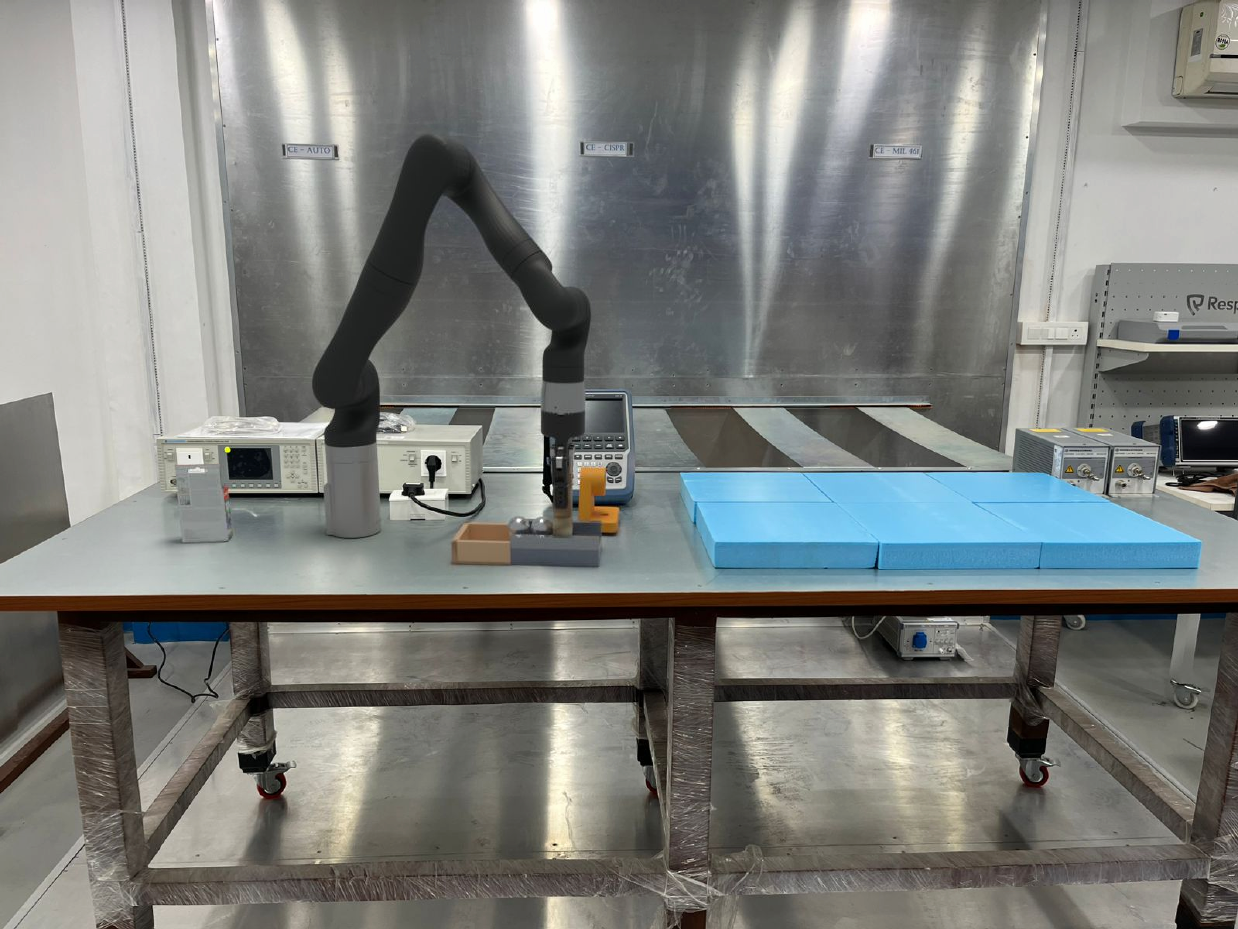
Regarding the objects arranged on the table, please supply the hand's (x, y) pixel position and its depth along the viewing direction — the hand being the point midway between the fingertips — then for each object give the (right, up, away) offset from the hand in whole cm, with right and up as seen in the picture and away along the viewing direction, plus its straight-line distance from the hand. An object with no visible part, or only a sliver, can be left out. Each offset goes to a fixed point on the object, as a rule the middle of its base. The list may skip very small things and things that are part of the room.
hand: (562, 504), depth 146 cm
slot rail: (-1, -9, +2) cm, 9 cm away
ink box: (-65, -7, +8) cm, 66 cm away
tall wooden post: (0, -6, +1) cm, 6 cm away
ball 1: (-6, -5, +1) cm, 8 cm away
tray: (-13, -9, +2) cm, 16 cm away
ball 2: (-2, -4, +1) cm, 5 cm away
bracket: (+6, -6, +19) cm, 20 cm away
